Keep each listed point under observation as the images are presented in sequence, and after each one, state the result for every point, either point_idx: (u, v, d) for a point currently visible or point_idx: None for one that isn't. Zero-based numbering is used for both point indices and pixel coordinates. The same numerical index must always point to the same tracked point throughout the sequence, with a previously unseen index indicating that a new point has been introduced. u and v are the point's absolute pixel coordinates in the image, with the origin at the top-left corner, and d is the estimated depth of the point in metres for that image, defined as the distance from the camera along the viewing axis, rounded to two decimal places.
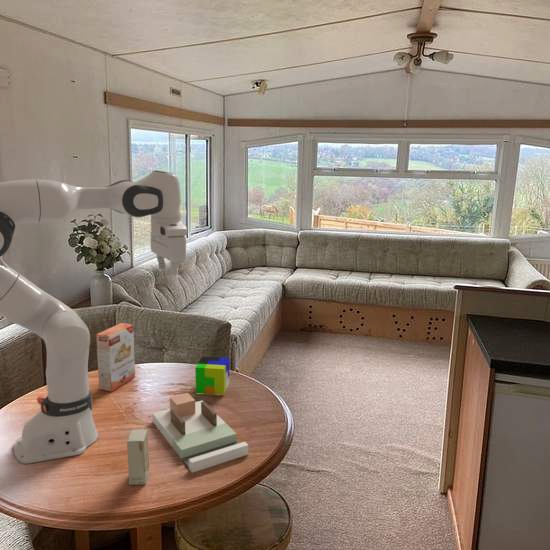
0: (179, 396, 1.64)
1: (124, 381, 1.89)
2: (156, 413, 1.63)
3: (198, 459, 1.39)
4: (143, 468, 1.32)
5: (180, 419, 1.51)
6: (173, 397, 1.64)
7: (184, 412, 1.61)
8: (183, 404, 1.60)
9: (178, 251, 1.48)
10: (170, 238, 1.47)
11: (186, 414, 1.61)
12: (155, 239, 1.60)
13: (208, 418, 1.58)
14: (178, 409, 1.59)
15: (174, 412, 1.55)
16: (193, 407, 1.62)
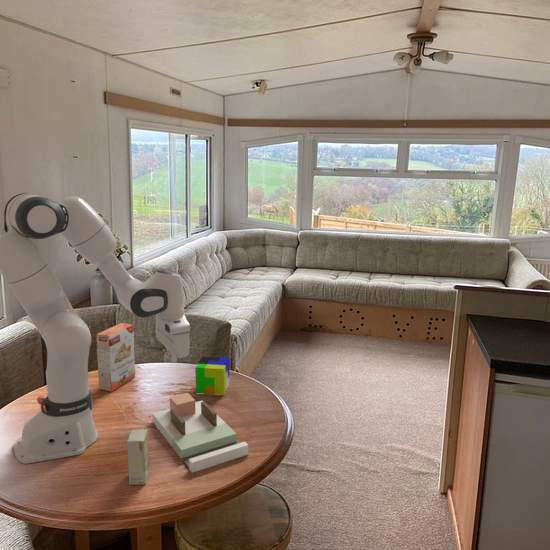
0: (179, 396, 1.64)
1: (124, 381, 1.89)
2: (156, 413, 1.63)
3: (198, 459, 1.39)
4: (143, 468, 1.32)
5: (180, 419, 1.51)
6: (173, 397, 1.64)
7: (184, 412, 1.61)
8: (183, 404, 1.60)
9: (182, 347, 1.58)
10: (174, 336, 1.57)
11: (186, 414, 1.61)
12: (160, 329, 1.70)
13: (208, 418, 1.58)
14: (178, 409, 1.59)
15: (174, 412, 1.55)
16: (193, 407, 1.62)
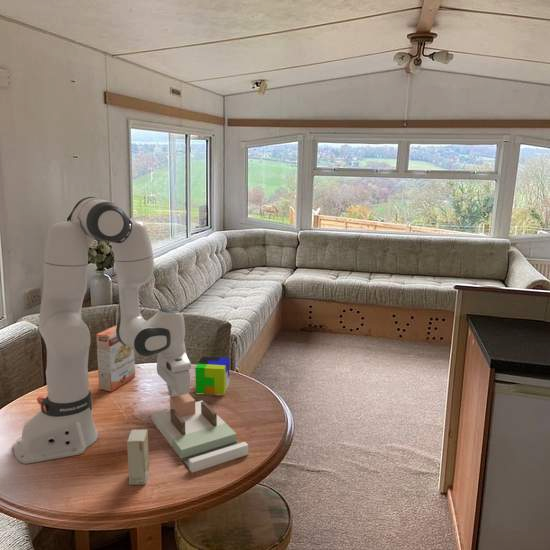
0: (179, 396, 1.64)
1: (124, 381, 1.89)
2: (156, 413, 1.63)
3: (198, 459, 1.39)
4: (143, 468, 1.32)
5: (180, 419, 1.51)
6: (173, 397, 1.64)
7: (184, 412, 1.61)
8: (183, 404, 1.60)
9: (182, 385, 1.60)
10: (175, 374, 1.60)
11: (186, 414, 1.61)
12: (161, 365, 1.72)
13: (208, 418, 1.58)
14: (178, 409, 1.59)
15: (174, 412, 1.55)
16: (193, 407, 1.62)
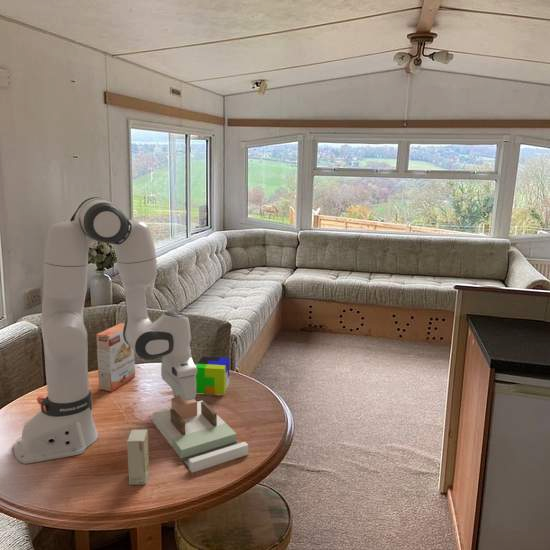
0: (180, 397, 1.63)
1: (124, 381, 1.89)
2: (156, 413, 1.63)
3: (198, 459, 1.39)
4: (143, 468, 1.32)
5: (180, 419, 1.51)
6: (175, 398, 1.63)
7: (186, 414, 1.60)
8: (185, 406, 1.59)
9: (188, 390, 1.57)
10: (181, 379, 1.56)
11: (188, 416, 1.60)
12: (166, 370, 1.68)
13: (208, 418, 1.58)
14: (180, 411, 1.59)
15: (174, 412, 1.55)
16: (195, 409, 1.61)
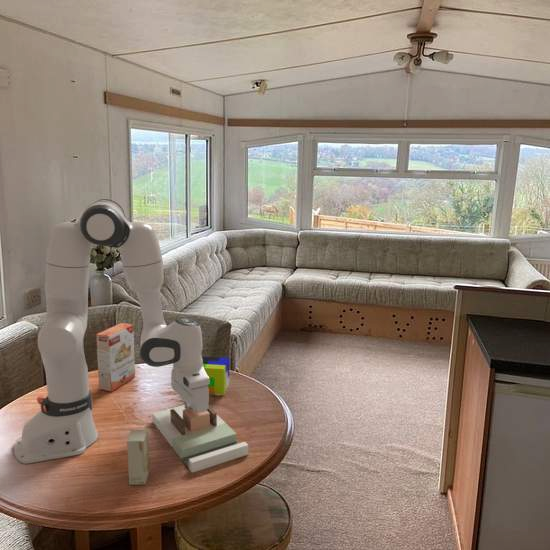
0: (192, 409, 1.56)
1: (124, 381, 1.89)
2: (156, 413, 1.63)
3: (198, 459, 1.39)
4: (143, 468, 1.32)
5: (180, 419, 1.51)
6: (186, 410, 1.56)
7: (198, 426, 1.53)
8: (197, 418, 1.52)
9: (201, 402, 1.49)
10: (193, 390, 1.49)
11: (200, 428, 1.53)
12: None
13: None
14: (192, 423, 1.51)
15: (174, 412, 1.55)
16: (207, 420, 1.54)
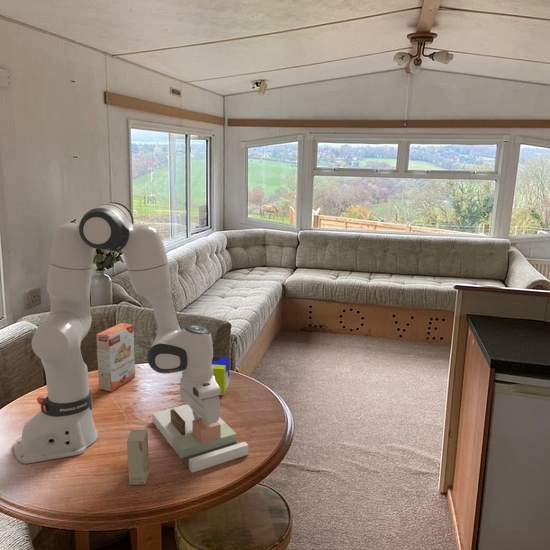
0: None
1: (124, 381, 1.89)
2: (156, 413, 1.63)
3: (198, 459, 1.39)
4: (143, 468, 1.32)
5: (180, 419, 1.51)
6: (196, 421, 1.49)
7: (208, 438, 1.47)
8: (208, 429, 1.46)
9: (211, 413, 1.43)
10: (204, 401, 1.43)
11: (211, 440, 1.47)
12: None
13: None
14: (202, 435, 1.45)
15: (174, 412, 1.55)
16: (218, 432, 1.48)
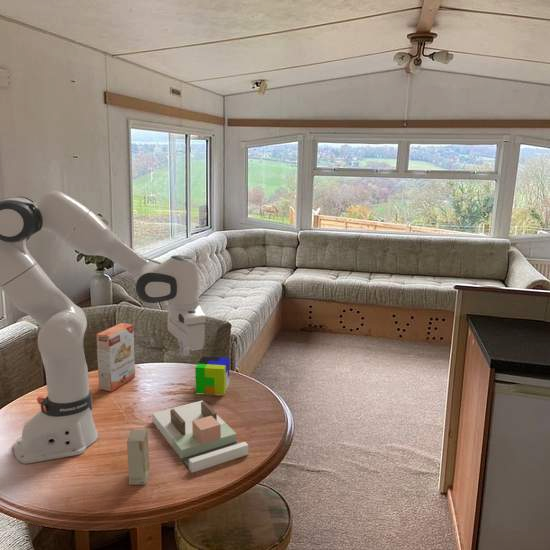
0: (202, 419, 1.50)
1: (124, 381, 1.89)
2: (156, 413, 1.63)
3: (198, 459, 1.39)
4: (143, 468, 1.32)
5: (180, 419, 1.51)
6: (196, 421, 1.49)
7: (208, 438, 1.47)
8: (208, 429, 1.46)
9: (196, 339, 1.47)
10: (189, 326, 1.46)
11: (211, 440, 1.47)
12: (172, 320, 1.59)
13: None
14: (202, 435, 1.45)
15: (174, 412, 1.55)
16: (218, 432, 1.48)
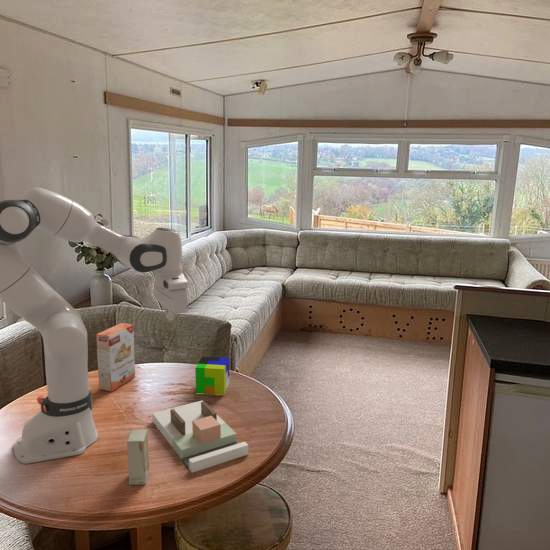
0: (202, 419, 1.50)
1: (124, 381, 1.89)
2: (156, 413, 1.63)
3: (198, 459, 1.39)
4: (143, 468, 1.32)
5: (180, 419, 1.51)
6: (196, 421, 1.49)
7: (208, 438, 1.47)
8: (208, 429, 1.46)
9: (179, 303, 1.60)
10: (172, 291, 1.60)
11: (211, 440, 1.47)
12: (158, 288, 1.72)
13: None
14: (202, 435, 1.45)
15: (174, 412, 1.55)
16: (218, 432, 1.48)
